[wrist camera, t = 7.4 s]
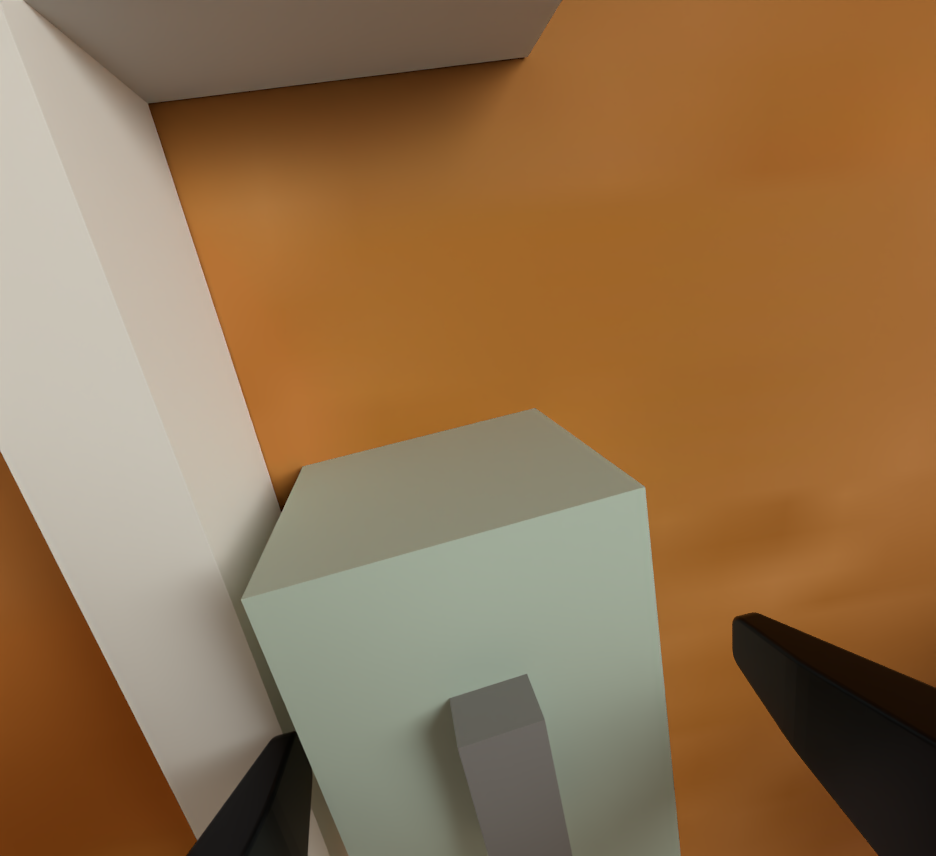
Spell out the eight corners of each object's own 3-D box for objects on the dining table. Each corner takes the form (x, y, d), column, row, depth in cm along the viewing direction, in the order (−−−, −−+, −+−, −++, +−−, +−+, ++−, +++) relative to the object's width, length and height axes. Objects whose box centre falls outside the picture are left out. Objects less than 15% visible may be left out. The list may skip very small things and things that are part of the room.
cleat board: (509, -109, 8) (593, -381, 5) (628, 950, 17) (686, 1103, 14) (-49, -65, 7) (-418, -376, 4) (391, 1039, 16) (393, 1228, 13)
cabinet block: (533, 406, 11) (680, 512, 6) (576, 665, 14) (709, 916, 8) (303, 464, 11) (219, 644, 5) (391, 725, 13) (399, 1040, 7)
